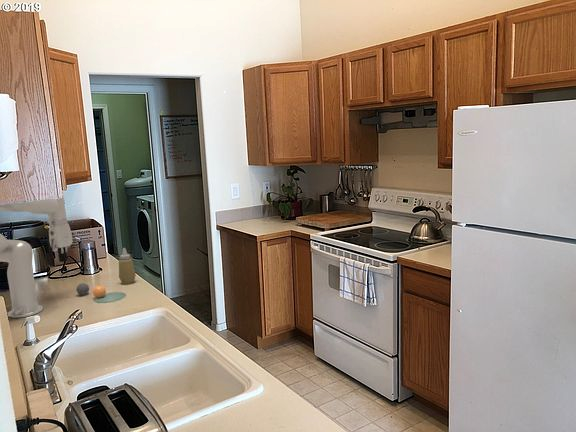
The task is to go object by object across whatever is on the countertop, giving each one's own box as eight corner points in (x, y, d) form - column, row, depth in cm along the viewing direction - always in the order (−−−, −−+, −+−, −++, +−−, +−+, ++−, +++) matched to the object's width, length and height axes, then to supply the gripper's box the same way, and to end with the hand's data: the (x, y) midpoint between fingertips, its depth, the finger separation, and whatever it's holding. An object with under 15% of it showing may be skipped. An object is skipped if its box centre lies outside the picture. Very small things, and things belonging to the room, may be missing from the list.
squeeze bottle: (122, 286, 233) (117, 250, 230) (117, 282, 239) (113, 248, 236) (138, 282, 237) (134, 248, 234) (133, 279, 244) (130, 245, 241)
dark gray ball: (74, 283, 221) (74, 294, 219) (85, 280, 221) (85, 291, 219) (80, 286, 226) (80, 297, 224) (91, 284, 226) (91, 294, 224)
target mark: (118, 302, 209) (118, 301, 209) (88, 303, 210) (87, 303, 210) (130, 292, 223) (130, 291, 223) (101, 293, 223) (101, 292, 223)
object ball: (88, 295, 216) (98, 302, 215) (91, 287, 213) (101, 293, 213) (97, 289, 221) (106, 296, 220) (100, 281, 218) (109, 287, 217)
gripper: (53, 225, 207) (59, 265, 210) (76, 219, 222) (81, 257, 225) (39, 225, 209) (45, 265, 212) (62, 219, 223) (67, 257, 226)
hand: (63, 261), depth 218 cm, fingers closed
